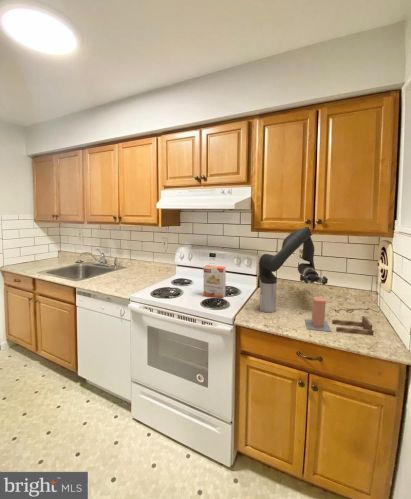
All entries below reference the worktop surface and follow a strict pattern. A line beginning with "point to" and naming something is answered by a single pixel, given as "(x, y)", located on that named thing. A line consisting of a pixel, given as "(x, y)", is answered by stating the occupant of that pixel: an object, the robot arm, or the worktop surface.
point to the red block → (318, 312)
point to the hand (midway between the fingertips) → (315, 282)
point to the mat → (310, 327)
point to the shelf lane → (364, 324)
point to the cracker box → (214, 281)
